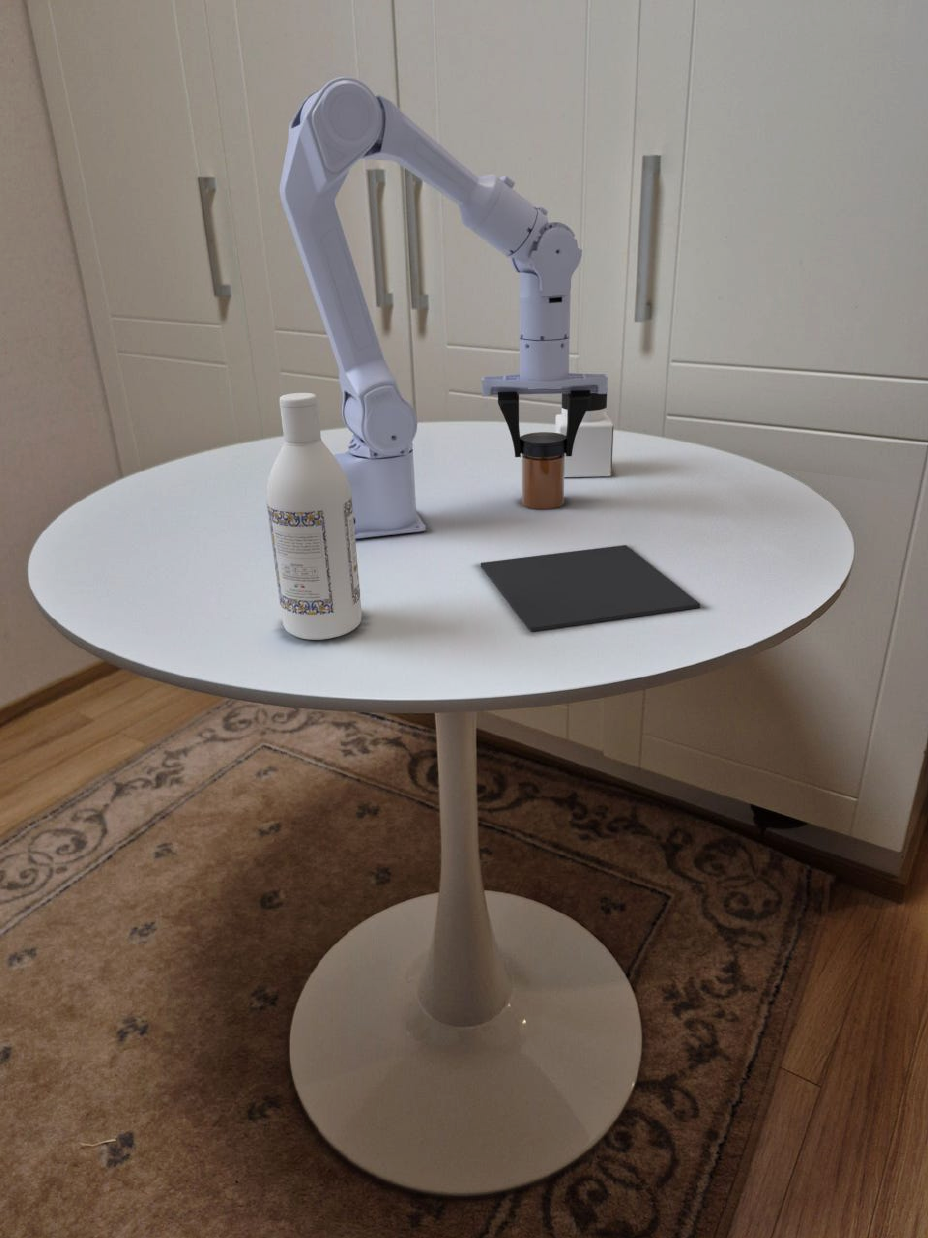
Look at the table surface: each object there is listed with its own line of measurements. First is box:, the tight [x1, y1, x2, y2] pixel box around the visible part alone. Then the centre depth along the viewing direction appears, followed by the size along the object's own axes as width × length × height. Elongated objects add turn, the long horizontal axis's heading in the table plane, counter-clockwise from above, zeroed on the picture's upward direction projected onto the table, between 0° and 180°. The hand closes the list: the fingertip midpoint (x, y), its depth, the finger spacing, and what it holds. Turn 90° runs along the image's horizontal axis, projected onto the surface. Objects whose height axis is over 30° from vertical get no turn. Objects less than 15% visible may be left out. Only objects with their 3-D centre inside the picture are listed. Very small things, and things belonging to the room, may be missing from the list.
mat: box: [480, 544, 701, 632], centre depth 82 cm, size 16×16×1 cm
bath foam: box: [266, 392, 363, 641], centre depth 72 cm, size 7×7×20 cm
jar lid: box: [520, 431, 567, 457], centre depth 103 cm, size 6×6×2 cm
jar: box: [521, 454, 565, 510], centre depth 105 cm, size 5×5×7 cm
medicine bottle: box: [554, 386, 614, 478], centre depth 116 cm, size 7×7×12 cm
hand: (543, 454), depth 104 cm, fingers closed on jar lid, 5 cm apart
